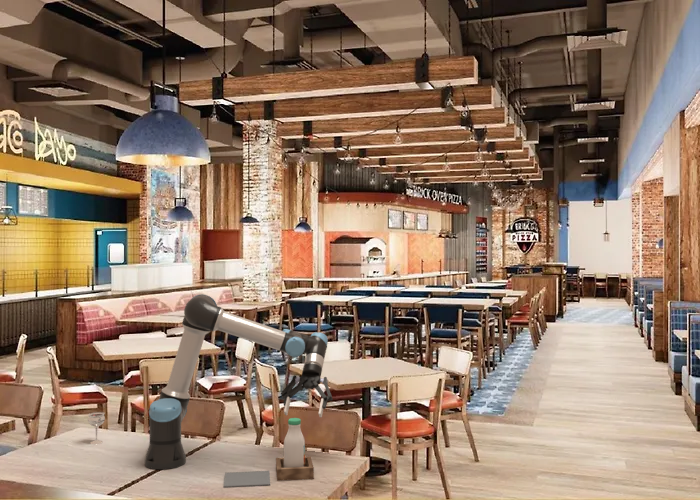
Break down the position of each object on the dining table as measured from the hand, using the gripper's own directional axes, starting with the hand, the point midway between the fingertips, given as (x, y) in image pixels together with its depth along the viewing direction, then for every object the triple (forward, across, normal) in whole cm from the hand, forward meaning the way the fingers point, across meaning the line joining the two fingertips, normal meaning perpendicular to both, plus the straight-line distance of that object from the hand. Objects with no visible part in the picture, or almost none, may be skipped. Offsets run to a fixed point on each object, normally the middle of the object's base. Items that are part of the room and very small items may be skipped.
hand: (302, 414), depth 261 cm
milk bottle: (+21, 0, -6) cm, 22 cm away
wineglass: (+7, +92, -20) cm, 94 cm away
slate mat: (+27, +15, 0) cm, 31 cm away
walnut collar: (+21, 0, -6) cm, 22 cm away
